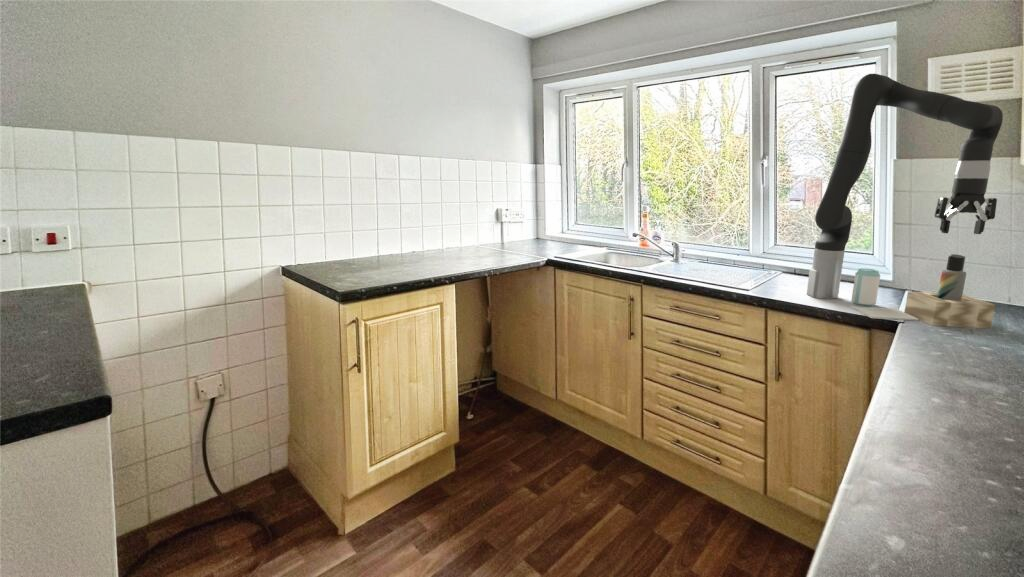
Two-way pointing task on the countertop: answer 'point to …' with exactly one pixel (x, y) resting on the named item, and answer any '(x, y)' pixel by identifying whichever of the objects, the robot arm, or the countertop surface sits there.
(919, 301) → the pocket holder
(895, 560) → the countertop surface
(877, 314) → the grey mat
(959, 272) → the lotion bottle
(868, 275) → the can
